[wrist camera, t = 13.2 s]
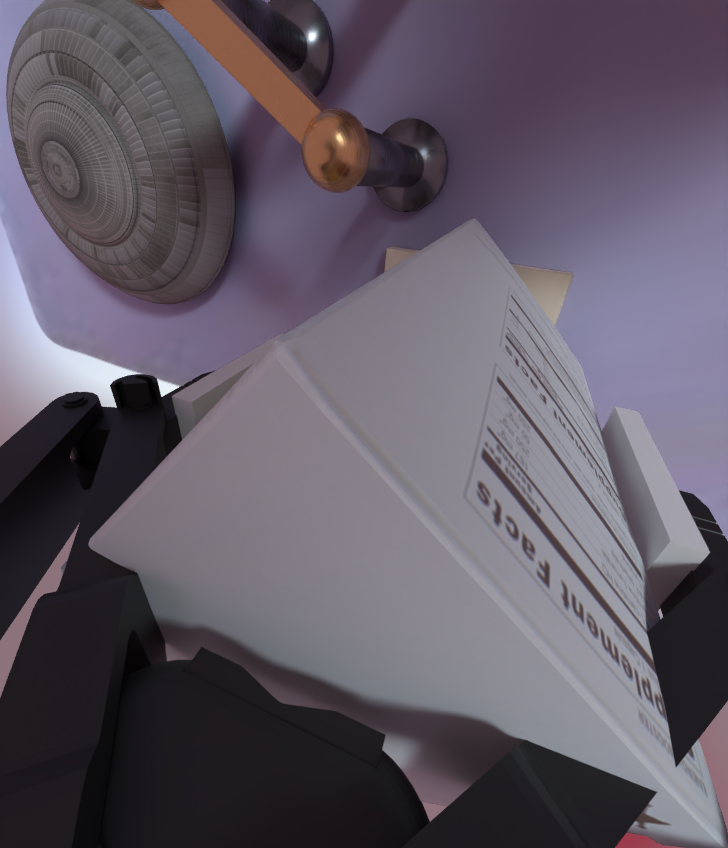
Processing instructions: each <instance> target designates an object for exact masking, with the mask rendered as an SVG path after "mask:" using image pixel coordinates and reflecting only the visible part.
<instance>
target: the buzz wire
mask: <svg viewBox="0 0 728 848" xmlns="http://www.w3.org/2000/svg"><path fill="white" fill-rule="evenodd" d="M131 1H133V2H134V3H136V4H137V5H139V6H141V7H143V8H146V9H150V10H161V9H166V10H167V11H168V12H169V13H170V14H171V15H172V16H173V17H174V18H175V19H176V20H177V21H178V22H179V23H180V24H181V25H182V26H183V27H184V28H185V29H186V30H187V31H188V32H189V33H190V34H191V35H192V36H193V37H194V38H195V39H196V40H197V41H198V42H199V43H200V44H201V45H202V46H203V47H204V48H205V49H206V50H207V51H208V52H209V53H210V54H211V55H212V56H213V57H214V58H215V59H216V60H217V61H218V62H219V63H220V64H221V65H222V66H223V67H224V68H225V69H226V70H227V71H228V72H229V73H230V74H231V75H232V76H233V77H234V78H235V79H236V80H237V81H238V82H239V83H240V84H241V85H242V86H243V87H244V88H245V89H246V90H247V91H248V92H249V93H250V94H251V95H252V96H253V97H254V98H255V99H256V100H257V101H258V102H259V103H260V104H261V105H262V106H263V107H264V108H265V109H266V110H267V111H268V112H269V113H270V114H271V115H272V116H273V117H274V118H275V119H276V120H277V121H278V122H279V123H280V124H281V125H282V126H283V127H284V128H285V129H286V130H287V131H288V132H289V133H290V134H291V135H292V136H293V137H294V138H295V139H296V140H297V141H298V142H299V143H300V144H301V145H302V147H301V151H302V159H303V163H304V166H305V169H306V171H307V173H308V175H309V176H310V178H311V179H312V180H313V181H314V182H315V183H316V184H317V185H318V186H319V187H321V188H322V189H324V190H326V191H329V192H334V193H341V192H346V191H348V190H351V189H352V188H354V187H355V186H372V187H374V188H375V191H376V193H377V195H378V196H379V198H380V199H381V200H382V201H383V202H384V203H385V204H386V205H387V206H388V207H390V208H392V209H394V210H397V211H401V212H409V211H415V210H419V209H421V208H423V207H425V206H427V205H428V204H429V203H431V202H432V201H433V200H434V199H435V198H436V196H437V195H438V194H439V192H440V191H441V189H442V187H443V185H444V182H445V179H446V176H447V171H448V154H447V149H446V146H445V143H444V141H443V139H442V137H441V136H440V134H439V133H438V132H437V131H436V130H435V129H434V128H433V127H432V126H431V125H429V124H428V123H426V122H424V121H421V120H418V119H405V120H401V121H398V122H396V123H395V124H393V125H391V126H390V127H389V128H388V129H387V130H386V131H385V132H384V133H383V134H382V135H381V134H379V133H376V132H374V131H371V130H369V129H366V128H364V127H363V125H362V124H361V122H360V121H359V120H358V119H357V118H356V117H355V116H354V115H353V114H351V113H350V112H348V111H346V110H343V109H338V108H331V109H327V108H326V107H325V106H324V105H323V104H322V103H321V102H320V101H319V100H318V99H317V98H316V96H317V95H318V94H319V93H320V92H321V91H322V89H323V88H324V86H325V85H326V82H327V80H328V78H329V75H330V72H331V68H332V63H333V38H332V33H331V29H330V26H329V23H328V21H327V18H326V17H325V15H324V13H323V12H322V10H321V9H320V7H319V6H318V5H317V4H316V3H315V2H313V1H312V0H270V2H269V3H268V4H267V3H266V2H265V1H263V0H131Z"/></svg>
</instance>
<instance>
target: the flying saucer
mask: <svg viewBox="0 0 728 848" xmlns="http://www.w3.org/2000/svg"><path fill="white" fill-rule="evenodd" d="M6 96H7V112H8V120H9V126H10V131H11V136H12V140H13V144H14V148H15V152H16V155H17V158H18V161H19V164H20V167H21V170H22V172H23V175H24V178H25V180H26V182H27V185H28V187H29V189H30V191H31V193H32V195H33V197H34V199H35V201H36V203H37V205H38V206H39V208H40V210H41V212H42V213H43V215H44V217H45V218H46V220H47V221H48V223H49V224H50V226H51V227H52V229H53V230H54V231H55V233H56V234H57V235H58V237H59V238H60V239H61V240H62V242H63V243H64V244H65V245H66V246H67V247H68V249H69V250H70V251H71V252H72V253H73V254H74V255H75V256H76V257H77V258H78V259H79V260H80V261H81V262H82V263H84V264H85V265H86V266H87V267H88V268H89V269H90V270H91V271H93V272H94V273H95V274H97V275H98V276H99V277H101V278H102V279H103V280H105V281H106V282H108V283H110V284H111V285H113V286H114V287H116V288H118V289H120V290H121V291H123V292H125V293H127V294H129V295H132V296H134V297H137V298H140V299H143V300H146V301H149V302H153V303H159V304H176V303H181V302H185V301H188V300H190V299H192V298H194V297H196V296H198V295H199V294H201V293H202V292H203V291H205V290H206V289H207V288H208V287H209V286H210V285H211V284H212V282H213V281H214V280H215V278H216V277H217V275H218V274H219V272H220V270H221V269H222V267H223V265H224V262H225V260H226V257H227V254H228V252H229V248H230V244H231V240H232V235H233V228H234V218H235V192H234V181H233V173H232V166H231V161H230V156H229V151H228V147H227V143H226V140H225V136H224V133H223V130H222V127H221V124H220V121H219V118H218V115H217V113H216V110H215V108H214V105H213V103H212V101H211V98H210V96H209V94H208V92H207V90H206V88H205V86H204V84H203V82H202V80H201V78H200V76H199V75H198V73H197V71H196V69H195V68H194V66H193V65H192V63H191V61H190V60H189V58H188V57H187V55H186V54H185V53H184V51H183V50H182V48H181V47H180V46H179V44H178V43H177V42H176V41H175V39H174V38H173V37H172V36H171V35H170V33H169V32H168V31H167V30H166V29H165V28H164V27H163V26H162V25H161V24H160V23H159V22H158V21H157V20H156V19H155V18H154V17H153V16H152V15H151V14H149V13H148V12H147V11H146V10H144V9H143V8H142V7H140V6H139V5H137V4H136V3H134V2H133V1H131V0H45V1H44V2H43V3H42V4H41V5H40V6H39V7H38V8H37V9H36V10H35V11H34V12H33V13H32V14H31V16H30V17H29V18H28V20H27V21H26V22H25V24H24V25H23V27H22V29H21V31H20V33H19V35H18V37H17V39H16V42H15V45H14V48H13V51H12V54H11V58H10V62H9V67H8V74H7V91H6Z"/></svg>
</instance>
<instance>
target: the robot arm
mask: <svg viewBox="0 0 728 848" xmlns="http://www.w3.org/2000/svg"><path fill="white" fill-rule="evenodd" d="M283 334H284V333H280V334H278V335H277V336H275V337H273V338H271V339H270V340H268V341H266V342H265V343H263V344H261V345H259V346H258V347H256V348H254V349H252V350H251V351H249V352H247V353H245V354H244V355H242V356H240V357H239V358H237V359H235V360H233V361H232V362H230V363H228V364H226V365H225V366H223V367H221V368H219V369H218V370H216V371H212V372H209V373H205V374H202V375H200V376H198V377H197V378H195V379H193V380H192V381H190V382H188V383H186V384H184V386H181V387H179V388H177V389H175V390H174V391H172V392H170V393H168V394H167V395H165V396H163V397H161V394H160V390H159V386H158V382H157V378H155V377H153V376H150V375H146V374H136V375H129V376H125V377H122V378H119V379H117V380H115V381H113V383H112V384H111V385H110V387H111V390H112V393H113V396H114V399H115V402H116V406H117V408H114V407H102V406H101V404H100V401H99V398H98V396H97V395H96V394H94V393H89V392H73V393H69V394H66V395H64V396H61V397H59V398H57V399H55V400H54V401H52V402H51V403H50V404H49V405H48V406H47V407H45V408H44V409H43V410H42V411H41V412H40V413H39V414H38V415H36V416H35V417H34V418H33V419H32V420H30V421H29V422H28V423H27V424H26V425H25V426H24V427H22V428H21V429H20V430H19V431H18V432H17V433H16V434H15V435H13V436H12V437H11V438H10V439H9V440H8V441H6V442H5V443H4V444H3V445H2V446H1V447H0V640H1V638H2V637H3V635H4V634H5V632H6V631H7V629H8V628H9V626H10V625H11V623H12V622H13V620H14V619H15V618H16V616H17V614H18V613H19V612H20V610H21V608H22V607H23V605H24V604H25V603H26V601H27V600H28V598H29V597H30V595H31V594H32V592H33V591H34V589H35V588H36V586H37V585H38V583H39V582H40V580H41V579H42V577H43V576H44V574H45V573H46V572H47V570H48V569H49V567H50V566H51V564H52V563H53V561H54V559H55V558H56V557H57V555H58V554H59V552H60V551H61V549H62V548H63V546H64V545H65V543H66V542H67V540H68V539H69V537H70V536H71V534H72V533H73V531H74V530H75V528H76V527H77V525H78V524H79V523H80V524H79V527H78V530H77V533H76V536H75V539H74V542H73V545H72V548H71V551H70V555H69V558H68V561H67V564H66V567H65V570H64V573H63V576H62V579H61V582H60V586H59V587H58V590H57V591H56V592H52V593H47V594H44V595H43V596H41V597H40V598H39V599H38V601H37V603H36V605H35V607H34V608H33V611H32V613H31V616H30V619H29V622H28V624H27V627H26V630H25V632H24V635H23V638H22V641H21V643H20V646H19V649H18V651H17V654H16V657H15V660H14V663H13V665H12V668H11V670H10V673H9V676H8V679H7V681H6V684H5V687H4V690H3V692H2V695H1V698H0V848H615V846H617V844H618V843H619V841H620V840H621V839H622V838H623V836H624V835H625V834H626V832H627V831H628V830H629V829H630V827H631V826H632V825H633V823H634V822H635V821H636V819H637V818H638V817H639V816H640V814H641V813H642V812H643V810H644V809H645V808H646V806H647V805H648V804H649V803H650V801H651V800H652V799H653V797H654V796H655V795H656V793H657V792H656V791H654V790H651V789H648V788H646V787H643V786H641V785H638V784H636V783H633V782H631V781H628V780H626V779H623V778H621V777H618V776H616V775H613V774H611V773H608V772H606V771H603V770H600V769H598V768H595V767H593V766H590V765H588V764H585V763H583V762H580V761H578V760H575V759H573V758H570V757H568V756H565V755H563V754H560V753H558V752H555V751H553V750H550V749H548V748H545V747H542V746H540V745H537V744H535V743H532V742H530V741H528V740H526V741H525V742H523V743H522V744H521V745H520V746H517V747H515V748H514V749H512V750H511V751H510V752H509V753H507V754H506V755H505V756H504V757H503V758H502V759H500V760H499V761H498V762H497V763H496V764H495V765H494V766H492V767H491V768H490V769H489V770H488V771H487V772H486V773H485V774H483V775H482V776H481V777H480V778H479V779H478V780H477V781H476V782H475V783H473V784H472V785H471V786H470V787H469V788H468V789H467V790H466V791H464V792H463V793H462V794H461V795H460V796H459V797H458V798H457V799H455V800H454V801H453V802H452V803H451V804H450V805H449V806H448V807H446V808H445V809H444V810H443V811H442V812H441V813H440V814H439V815H438V816H436V817H435V818H434V819H433V820H432V821H431V822H430V821H429V819H428V816H427V814H426V811H425V809H424V807H423V804H422V802H421V800H420V798H419V796H418V795H417V793H416V791H415V789H414V787H413V785H412V784H411V783H410V781H409V780H408V778H407V777H406V775H405V774H404V772H403V771H402V770H401V769H400V767H399V766H398V765H397V764H396V763H395V761H394V760H393V759H392V758H391V757H390V756H389V755H387V754H386V753H385V752H384V751H383V750H382V748H383V744H384V740H385V736H386V735H385V734H383V733H381V732H379V731H377V730H374V729H372V728H370V727H368V726H366V725H364V724H362V723H360V722H358V721H356V720H354V719H351V718H349V717H347V716H345V715H343V714H341V713H339V712H337V711H332V710H325V709H317V708H310V707H303V706H296V705H289V704H283V703H281V702H279V701H278V700H276V699H275V698H274V697H273V696H272V695H271V694H270V693H269V692H268V691H267V690H266V689H265V688H264V687H263V686H262V685H261V684H260V683H259V682H258V681H257V680H256V679H255V678H254V677H253V676H252V675H251V674H250V673H249V672H248V671H247V670H246V669H245V668H243V667H242V666H241V665H238V664H236V663H234V662H232V661H230V660H228V659H226V658H224V657H222V656H220V655H218V654H215V653H213V652H211V651H209V650H207V649H205V648H203V647H201V648H200V650H199V651H198V652H197V654H196V655H195V657H194V658H193V659H192V660H172V661H167V656H166V646H165V640H164V638H163V636H162V633H161V631H160V629H159V626H158V624H157V622H156V619H155V617H154V614H153V612H152V609H151V607H150V604H149V602H148V599H147V597H146V594H145V591H144V589H143V586H142V583H141V581H140V578H139V575H138V573H136V572H134V571H131V570H129V569H127V568H125V567H123V566H121V565H119V564H117V563H115V562H113V561H111V560H110V559H108V558H106V557H104V556H102V555H101V554H99V553H97V552H95V551H94V550H92V549H91V548H90V547H89V545H88V544H89V541H90V538H91V537H92V536H93V535H94V534H95V533H96V532H97V531H98V530H99V529H100V528H101V527H102V525H103V524H104V523H105V522H106V521H107V520H108V519H109V518H110V517H111V516H112V515H113V514H114V513H115V512H116V511H117V510H118V508H119V507H120V506H121V505H122V504H123V503H124V502H125V501H126V500H127V499H128V498H129V497H130V496H131V495H132V493H133V492H134V491H135V490H136V489H137V488H138V487H139V486H140V485H141V484H142V483H143V482H144V481H145V479H146V478H147V477H148V476H149V475H150V474H151V473H152V472H153V471H154V470H155V469H156V468H157V467H158V466H159V464H160V463H161V462H162V461H163V460H164V459H165V458H166V457H167V456H168V455H169V454H170V453H171V452H172V451H173V450H174V448H175V447H176V446H177V445H178V444H179V443H180V442H181V441H182V440H183V439H184V438H185V437H186V436H187V435H188V434H189V432H190V431H191V430H192V429H193V428H194V427H195V426H196V425H197V424H198V423H199V422H200V421H201V420H202V419H203V417H204V416H205V415H206V414H207V413H208V412H209V411H210V410H211V409H212V408H213V407H214V406H215V405H216V404H217V403H218V401H219V400H220V399H221V398H222V397H223V396H224V395H225V394H226V393H227V392H228V391H229V390H230V388H231V387H232V386H233V385H234V384H235V383H236V382H237V381H238V380H239V379H240V378H241V377H242V376H243V374H244V373H245V372H246V371H247V370H248V369H249V368H250V367H251V366H252V365H253V364H254V363H255V361H256V360H257V359H258V358H259V357H260V356H261V355H262V354H263V352H264V351H265V350H266V349H267V348H268V347H269V346H270V345H271V344H272V342H273V341H274V340H275V339H277V338H279V337H280V336H282V335H283ZM602 434H603V437H604V440H605V443H606V446H607V449H608V453H609V456H610V459H611V462H612V465H613V468H614V471H615V474H616V478H617V481H618V485H619V488H620V492H621V495H622V498H623V502H624V505H625V507H626V510H627V513H628V516H629V519H630V522H631V525H632V529H633V532H634V535H635V539H636V542H637V545H638V548H639V552H640V555H641V557H642V560H643V564H644V567H645V571H646V574H647V578H648V581H649V585H650V588H651V591H652V594H653V597H654V601H655V604H656V607H657V610H659V609H660V608H661V611H662V614H663V618H662V619H661V620H660V621H658V622H657V623H656V624H655V625H654V626H653V627H652V628H651V629H650V630H648V631H647V636H648V640H649V644H650V648H651V652H652V657H653V661H654V665H655V669H656V673H657V678H658V682H659V686H660V690H661V694H662V699H663V703H664V707H665V711H666V716H667V722H668V727H669V733H670V738H671V744H672V749H673V755H674V760H675V766H676V767H677V766H678V765H679V763H680V762H681V761H682V760H683V758H684V757H685V756H686V754H687V753H688V752H689V750H690V749H691V748H692V746H693V745H694V744H695V743H696V741H697V740H698V738H699V737H700V736H701V735H702V733H703V732H704V731H705V730H706V728H707V727H708V726H709V724H710V723H711V722H712V720H713V719H714V718H715V717H716V715H717V714H718V713H719V711H720V710H721V709H722V707H723V706H724V705H725V704H726V702H727V701H728V541H727V539H726V538H725V536H723V535H722V534H723V533H722V531H721V529H720V527H719V526H718V524H716V520H715V519H714V517H713V515H712V514H711V512H710V510H709V508H708V507H707V506H706V505H704V504H703V503H702V502H701V501H700V500H699V499H698V498H697V497H696V496H695V495H694V494H691V493H687V492H683V491H679V490H678V488H677V486H676V485H675V483H674V481H673V479H672V477H671V475H670V473H669V471H668V469H667V467H666V465H665V463H664V461H663V459H662V457H661V455H660V453H659V451H658V449H657V447H656V445H655V443H654V442H653V440H652V438H651V436H650V434H649V432H648V430H647V428H646V426H645V424H644V422H643V420H642V418H641V416H640V414H639V412H637V411H633V410H628V409H624V408H619V407H614V409H613V411H612V413H611V415H610V417H609V419H608V421H607V423H606V425H605V427H604V428H603V430H602ZM70 456H71V459H70Z"/></svg>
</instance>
